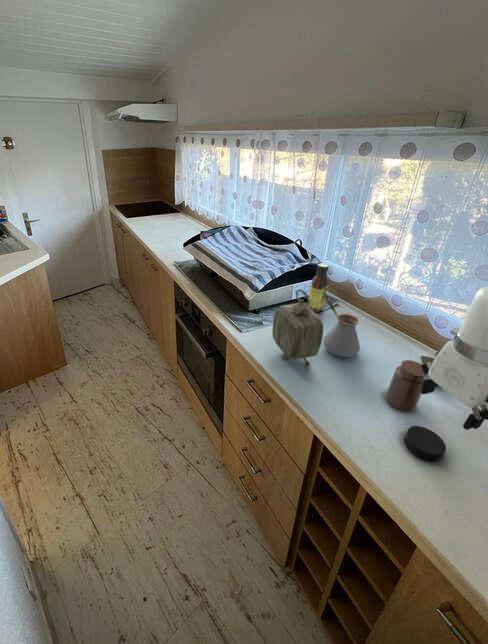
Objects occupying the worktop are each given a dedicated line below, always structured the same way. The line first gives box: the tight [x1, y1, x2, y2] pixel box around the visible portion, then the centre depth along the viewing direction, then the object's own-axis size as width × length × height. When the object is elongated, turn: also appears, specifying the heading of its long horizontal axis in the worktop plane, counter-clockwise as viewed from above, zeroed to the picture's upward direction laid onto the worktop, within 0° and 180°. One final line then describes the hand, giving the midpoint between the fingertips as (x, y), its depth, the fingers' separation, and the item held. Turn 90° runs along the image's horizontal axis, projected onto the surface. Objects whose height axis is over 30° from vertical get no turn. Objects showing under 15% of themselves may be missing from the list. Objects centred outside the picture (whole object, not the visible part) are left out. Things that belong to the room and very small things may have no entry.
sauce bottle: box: [306, 262, 330, 313], centre depth 125 cm, size 6×6×20 cm
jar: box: [384, 359, 425, 413], centre depth 83 cm, size 7×7×12 cm
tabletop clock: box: [271, 289, 324, 367], centre depth 97 cm, size 14×9×25 cm, turn 13°
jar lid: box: [403, 425, 447, 464], centre depth 73 cm, size 8×8×3 cm
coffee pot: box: [320, 291, 361, 358], centre depth 106 cm, size 21×12×15 cm, turn 9°
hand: (446, 408), depth 67 cm, fingers open, 9 cm apart
